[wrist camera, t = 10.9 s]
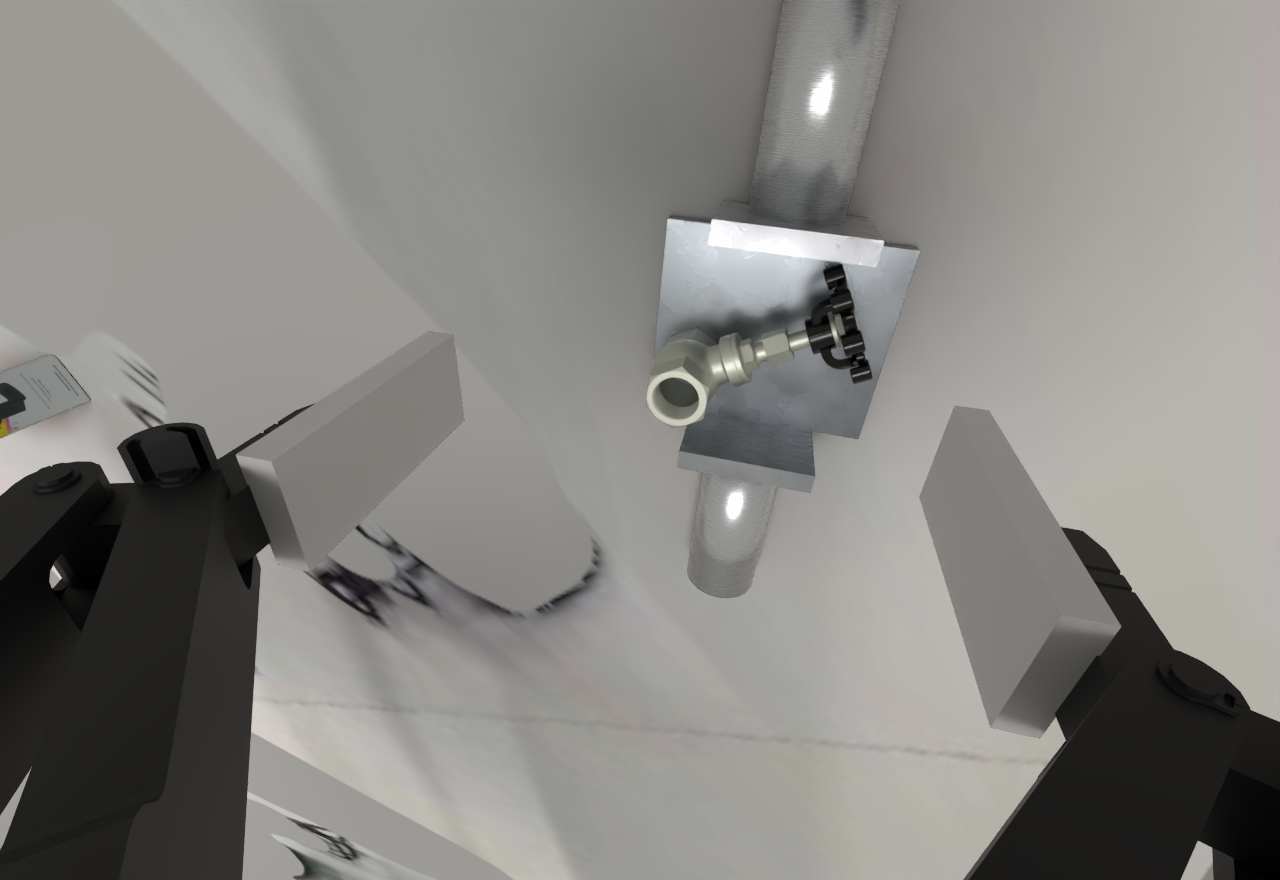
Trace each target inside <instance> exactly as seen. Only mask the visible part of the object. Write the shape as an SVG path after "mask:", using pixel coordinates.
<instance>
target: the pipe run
mask: <svg viewBox="0 0 1280 880" xmlns="http://www.w3.org/2000/svg"><path fill="white" fill-rule="evenodd" d="M899 4H900V0H783V6H782V12H781V18H780V24H779V29H778V35H777V41H776V47H775V53H774V59H773V65H772V71H771V77H770V82H769V88H768V94H767V100H766V106H765V112H764V118H763V124H762V130H761V135H760V141H759V147H758V153H757V159H756V165H755V171H754V177H753V183H752V188H751V194H750V200H749V203H742V202H733V201H725V200H724V201H723V203H722V204H721V206H720V207H719V209H718V210H717V212H716V213H715V215H714V216H713V218H712V221H707V220H699V219H691V218H683V217H676V216H670V217H669V218H668V221H667V231H666V241H665V251H664V260H663V270H662V280H661V290H660V300H659V309H658V319H657V329H656V339H655V348H654V358H653V360H654V359H655V357H656V355H657V354H658V352H659V351H660V350H661V349H662V348H664V347H665V345H666V343H667V341H668V339H669V338H670V337H671V336H674V335H676V334H679V333H682V332H685V331H688V330H691V329H695V328H699V329H700V330H702V331H703V332H704V333H706V334H707V335H708V336H709V337H711V338H712V339H713V340H714V341H715V342H716V343H717V344H719V340H720V338H721V337H724V336H727V335H730V334H733V333H738V334H739V335H740V336H741V338H742V340H746V339H749V338H751V339H752V340H753V342H754V343H757V342H761V341H762V336H763V334H765V333H768V332H771V331H774V330H777V329H781V328H784V327H785V328H786V329H787V331H788V334H791V333H794V332H798V331H801V330H804V329H806V328H805V323H804V320H805V319H808V318H811V312H812V310H813V308H814V307H815V306H816V305H817V304H818V303H820V302H821V301H823V300H826V299H828V298H829V294H832V293H834V289H830V290H828V287H827V283H826V281H825V278H824V274H823V269H826V268H829V267H831V266H834V265H837V264H840V263H841V264H842V265H843V268H844V271H845V275H846V279H847V286H848V288H849V289H850V291H851V295H852V299H853V302H854V306H855V310H854V314H855V315H856V318H857V321H858V325H859V329H860V330H861V332H862V336H863V339H864V343H865V347H866V351H865V352H864V354H865V358H866V359H868V361H869V364H870V368H871V372H872V376H873V379H872V380H868V381H865V382H861V383H857V384H853V381H852V378H851V374H850V369H851V368H848V369H844V370H838V369H834V368H832V367H830V366H828V365H827V364H826V363H825V361H824V360H823V358H822V356H821V353H818V354H813V352H812V349H811V346H810V347H807V348H803V349H800V350H797V351H794V359H793V360H791V361H788V362H784V363H781V364H778V365H774V366H771V365H770V363H769V361H765V362H762V363H760V368H759V370H757V371H754V372H752V381H751V382H750V383H747V384H743V385H740V386H736V387H734V386H733V385H732V384H731V383H726V384H723V385H720V386H719V387H718V390H717V392H716V393H715V395H714V397H713V398H712V399H711V400H710V401H709V402H708V403H707V407H706V411H705V415H704V419H702V420H700V421H697V422H694V423H691V424H688V425H687V428H686V431H685V434H684V437H683V441H682V444H681V447H680V450H679V456H678V464H677V468H682V469H687V470H692V471H697V472H703V477H702V483H701V489H700V495H699V500H698V506H697V512H696V518H695V524H694V530H693V536H692V542H691V548H690V553H689V559H688V565H687V574H688V577H689V579H690V581H691V582H692V583H693V585H694V586H696V587H697V588H698V589H699V590H701V591H702V592H704V593H706V594H708V595H711V596H714V597H719V598H734V597H738V596H740V595H742V594H744V593H746V592H747V591H748V590H749V589H750V587H751V585H752V581H753V578H754V574H755V570H756V566H757V562H758V558H759V554H760V550H761V546H762V542H763V538H764V534H765V530H766V526H767V523H768V519H769V515H770V511H771V507H772V503H773V499H774V495H775V491H776V487H781V488H786V489H791V490H797V491H802V492H807V493H810V492H811V489H812V486H813V482H814V479H815V468H814V455H813V443H812V431H814V432H820V433H826V434H831V435H837V436H843V437H848V438H854V439H859V436H860V433H861V430H862V427H863V423H864V420H865V417H866V414H867V411H868V408H869V405H870V402H871V399H872V396H873V393H874V390H875V387H876V384H877V381H878V378H879V375H880V372H881V369H882V366H883V363H884V360H885V356H886V353H887V350H888V347H889V344H890V341H891V338H892V335H893V332H894V329H895V326H896V323H897V320H898V317H899V314H900V311H901V308H902V305H903V302H904V299H905V296H906V293H907V290H908V286H909V283H910V280H911V277H912V274H913V271H914V268H915V265H916V262H917V259H918V256H919V253H920V250H919V249H918V248H917V247H911V246H903V245H895V244H888V243H884V240H883V238H882V237H881V236H880V234H879V233H878V231H877V230H876V229H875V227H874V226H873V225H872V223H871V222H870V221H869V219H868V218H865V217H857V216H848V215H846V212H847V208H848V204H849V200H850V196H851V192H852V189H853V185H854V181H855V177H856V173H857V169H858V165H859V161H860V157H861V153H862V149H863V145H864V141H865V137H866V134H867V130H868V126H869V122H870V118H871V114H872V110H873V106H874V102H875V98H876V94H877V90H878V86H879V82H880V79H881V75H882V71H883V67H884V63H885V59H886V55H887V51H888V47H889V43H890V39H891V35H892V31H893V27H894V24H895V20H896V16H897V12H898V8H899ZM832 312H833V311H832ZM839 340H840V339H839ZM840 344H841V342H840ZM831 352H832V355H833V357H834V358H836V359H844V358H848V357H846V356H845V353H844V349H843V346H842V344H841V347H838V348H835V349H832V350H831ZM849 357H851V356H849ZM855 367H858V366H855ZM852 368H854V367H852Z"/></svg>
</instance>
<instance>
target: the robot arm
mask: <svg viewBox="0 0 1280 880" xmlns="http://www.w3.org/2000/svg"><path fill="white" fill-rule="evenodd" d="M463 421H464V412H463V405H462V397H461V389H460V381H459V373H458V365H457V358H456V350H455V342H454V335H453V334H446V333H439V332H432V331H428V332H426V333H425V334H423V335H422V336H420V337H418V338H417V339H415V340H414V341H412V342H411V343H409V344H407V345H406V346H404V347H403V348H401V349H400V350H398V351H397V352H395V353H394V354H392V355H390V356H389V357H387V358H386V359H384V360H383V361H381V362H380V363H378V364H376V365H375V366H373V367H372V368H370V369H368V370H367V371H365V372H364V373H362V374H361V375H359V376H358V377H356V378H354V379H353V380H351V381H350V382H348V383H347V384H345V385H343V386H342V387H340V388H339V389H337V390H336V391H334V392H333V393H331V394H329V395H328V396H326V397H325V398H323V399H322V400H320V401H319V402H317V403H315V404H312V405H309V406H307V407H304V408H301V409H299V410H296V411H294V412H293V413H291V414H290V415H288V416H286V417H285V418H283V419H282V420H280V421H279V422H278V424H274V425H272V426H271V427H269V428H267V429H266V430H264V433H259V434H258V435H256V436H255V437H253V438H251V439H250V440H248V441H247V442H245V443H244V444H242V445H240V446H239V447H237V448H236V449H234V450H232V451H231V452H229V453H228V454H226V455H224V456H223V457H221V458H220V459H218V460H217V458H216V456H215V454H214V451H213V449H212V446H211V444H210V441H209V439H208V436H207V434H206V431H205V429H204V427H202V426H200V425H198V424H193V423H171V424H165V425H160V426H156V427H152V428H149V429H146V430H143V431H141V432H138V433H136V434H134V435H132V436H130V437H129V438H127V439H125V440H124V441H123V442H122V443H121V444H120V445H119V446H118V447H117V449H118V451H119V453H120V455H121V457H122V459H123V461H124V463H125V465H126V467H127V469H128V471H129V473H130V475H131V476H132V478H133V480H134V482H135V483H114V484H110V483H109V481H108V479H107V477H106V475H105V474H104V472H103V470H102V468H101V466H100V465H99V464H96V463H93V462H71V463H59V464H55V465H53V466H52V467H51V466H48V467H45V468H42V469H40V470H39V471H37V472H35V473H33V474H30V475H28V476H26V477H24V478H23V479H21V480H20V481H18V482H17V483H15V484H14V485H13V486H11V487H10V488H9V489H8V490H7V491H6V492H5V493H3V494H2V495H1V496H0V815H1V813H2V812H3V810H4V809H5V807H6V806H7V804H8V803H9V801H10V800H11V798H12V796H13V795H14V793H15V792H16V790H17V789H18V787H19V786H20V784H21V782H22V781H23V779H24V778H25V776H26V775H27V773H28V772H29V770H30V769H31V771H30V774H29V777H28V779H27V782H26V785H25V787H24V790H23V793H22V796H21V799H20V801H19V804H18V807H17V809H16V812H15V815H14V817H13V820H12V823H11V826H10V828H9V831H8V834H7V836H6V839H5V842H4V844H3V846H2V848H1V850H0V880H242V870H243V854H244V837H245V821H246V803H247V786H248V770H249V754H250V737H251V721H252V704H253V688H254V671H255V654H256V638H257V621H258V604H259V588H260V571H261V568H260V564H259V561H258V559H257V556H256V554H257V553H258V552H259V551H261V550H262V549H263V548H264V547H265V546H266V545H268V544H269V543H270V546H271V548H272V551H273V553H274V556H275V559H276V561H277V564H278V565H282V566H286V567H290V568H295V569H299V570H304V571H308V572H310V571H311V570H312V569H313V568H314V567H315V566H316V565H317V564H318V563H319V562H320V561H321V560H323V559H324V558H325V557H326V556H327V555H328V553H330V552H331V551H332V550H333V549H334V548H335V547H336V546H337V545H338V544H339V543H340V542H341V541H342V540H343V539H344V538H345V537H346V536H347V535H348V534H349V533H350V532H351V531H352V530H353V529H354V528H355V527H356V526H357V525H358V524H359V523H360V522H361V521H362V520H363V519H364V518H365V517H366V516H367V515H368V514H369V513H370V512H371V511H372V510H374V509H375V508H376V506H378V505H379V503H381V502H382V501H383V500H384V499H385V498H386V497H387V496H388V495H389V494H390V493H391V492H392V491H393V490H394V489H395V488H396V487H397V486H398V485H399V484H400V483H401V482H402V481H403V480H404V479H405V478H406V477H407V476H408V475H409V474H410V473H411V472H412V471H413V470H414V469H415V468H416V467H417V466H418V465H419V464H420V463H421V462H422V461H423V460H425V458H427V457H428V456H429V455H430V454H431V453H432V452H433V451H434V450H435V449H436V448H437V447H438V446H439V445H440V444H441V443H442V442H443V441H444V440H445V439H446V438H447V437H448V436H449V435H450V434H451V433H452V432H453V431H454V430H455V429H456V428H457V427H458V426H459V425H460V424H461V423H462V422H463ZM920 501H921V504H922V507H923V510H924V514H925V517H926V520H927V523H928V526H929V530H930V533H931V536H932V539H933V543H934V546H935V549H936V552H937V556H938V559H939V562H940V565H941V569H942V572H943V575H944V578H945V582H946V585H947V588H948V591H949V595H950V598H951V601H952V604H953V608H954V611H955V614H956V617H957V621H958V624H959V627H960V630H961V634H962V637H963V640H964V643H965V647H966V650H967V653H968V656H969V659H970V663H971V666H972V669H973V672H974V676H975V679H976V682H977V685H978V689H979V692H980V695H981V698H982V702H983V705H984V708H985V711H986V715H987V718H988V721H989V724H990V727H991V728H995V729H1000V730H1004V731H1008V732H1013V733H1017V734H1021V735H1026V736H1030V737H1035V738H1039V739H1040V738H1041V737H1042V735H1043V734H1044V732H1045V731H1046V730H1047V728H1048V727H1049V726H1050V724H1051V723H1052V721H1053V720H1054V719H1055V717H1056V718H1057V720H1058V723H1059V725H1060V727H1061V730H1062V732H1063V734H1064V737H1065V739H1066V741H1065V742H1064V744H1063V745H1062V746H1061V748H1060V749H1059V750H1058V752H1057V753H1056V754H1055V755H1054V757H1053V758H1052V759H1051V761H1050V762H1049V763H1048V765H1047V766H1046V767H1045V768H1044V770H1043V771H1042V772H1041V774H1040V775H1039V776H1038V779H1037V780H1036V782H1035V783H1034V784H1033V786H1032V787H1031V788H1030V790H1029V791H1028V792H1027V794H1026V795H1025V797H1024V798H1023V799H1022V801H1021V802H1020V803H1019V805H1018V806H1017V807H1016V809H1015V810H1014V811H1013V813H1012V814H1011V816H1010V817H1009V818H1008V820H1007V821H1006V822H1005V824H1004V825H1003V826H1002V828H1001V829H1000V831H999V832H998V833H997V835H996V836H995V837H994V839H993V840H992V841H991V843H990V844H989V846H988V847H987V848H986V850H985V851H984V852H983V854H982V855H981V856H980V858H979V859H978V861H977V862H976V863H975V865H974V866H973V867H972V869H971V870H970V871H969V873H968V874H967V876H966V877H965V878H964V880H1180V879H1181V877H1182V875H1183V873H1184V870H1185V868H1186V866H1187V864H1188V861H1189V859H1190V857H1191V855H1192V852H1193V850H1194V848H1195V846H1196V843H1197V841H1200V842H1202V843H1204V844H1206V845H1208V846H1210V847H1212V851H1213V874H1214V880H1280V722H1278V721H1276V720H1273V719H1271V718H1268V717H1266V716H1264V715H1261V714H1259V713H1256V712H1254V711H1252V710H1250V707H1249V705H1248V704H1247V702H1246V700H1245V699H1244V697H1243V695H1242V694H1241V692H1240V691H1239V690H1238V689H1237V688H1236V687H1235V686H1234V685H1233V684H1232V683H1231V682H1229V681H1228V680H1227V679H1226V678H1225V677H1224V676H1223V675H1222V674H1220V673H1219V672H1217V671H1216V670H1214V669H1213V668H1211V667H1210V666H1208V665H1207V664H1205V663H1204V662H1202V661H1200V660H1198V659H1196V658H1194V657H1191V656H1189V655H1187V654H1185V653H1183V652H1181V651H1177V650H1174V649H1173V648H1172V646H1171V645H1170V643H1169V642H1168V640H1167V639H1166V637H1165V636H1164V634H1163V633H1162V631H1161V630H1160V629H1159V627H1158V626H1157V624H1156V623H1155V621H1154V620H1153V618H1152V617H1151V615H1150V614H1149V612H1148V611H1147V609H1146V608H1145V607H1144V605H1143V604H1142V602H1141V601H1140V599H1139V598H1138V596H1137V595H1136V593H1134V592H1132V588H1131V586H1130V585H1129V583H1128V582H1127V580H1126V579H1125V577H1124V576H1123V575H1120V570H1119V568H1118V567H1117V566H1116V564H1115V563H1114V561H1113V560H1112V558H1111V557H1110V555H1109V554H1108V552H1107V551H1106V550H1105V549H1104V548H1103V547H1101V546H1100V545H1099V544H1098V543H1096V542H1095V541H1094V540H1093V539H1092V538H1090V537H1089V536H1088V535H1087V534H1086V533H1084V532H1083V531H1080V530H1074V529H1069V528H1063V527H1060V526H1059V524H1058V522H1057V521H1056V519H1055V517H1054V516H1053V514H1052V513H1051V511H1050V509H1049V508H1048V506H1047V504H1046V503H1045V501H1044V499H1043V498H1042V496H1041V495H1040V493H1039V491H1038V490H1037V488H1036V486H1035V485H1034V483H1033V482H1032V480H1031V478H1030V477H1029V475H1028V473H1027V472H1026V470H1025V469H1024V467H1023V465H1022V464H1021V462H1020V460H1019V459H1018V457H1017V455H1016V454H1015V452H1014V451H1013V449H1012V447H1011V446H1010V444H1009V442H1008V441H1007V439H1006V438H1005V436H1004V434H1003V433H1002V431H1001V429H1000V428H999V426H998V425H997V423H996V421H995V420H994V418H993V416H992V415H991V413H990V411H989V410H982V409H975V408H968V407H961V406H954V409H953V411H952V414H951V416H950V419H949V422H948V424H947V427H946V429H945V432H944V435H943V437H942V440H941V442H940V445H939V448H938V450H937V453H936V455H935V458H934V461H933V463H932V466H931V468H930V471H929V474H928V476H927V479H926V481H925V484H924V486H923V489H922V492H921V494H920ZM53 565H54V567H55V568H56V570H57V571H58V573H59V574H60V576H61V577H62V579H61V580H60V581H59V582H58V584H57V585H56V586H55V587H54V588H51V585H50V583H49V578H50V570H51V568H52V566H53ZM31 767H32V768H31Z"/></svg>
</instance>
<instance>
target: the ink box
mask: <svg viewBox="0 0 1280 880" xmlns="http://www.w3.org/2000/svg"><path fill="white" fill-rule="evenodd" d="M88 401H90V398H89V397H88V396H87V395H86V393H85V392H84V391H83V390H82V388H81V387H80V386H79V385H78V383H77V382H76V381H75V380H74V378H73V377H72V376H71V375H70V373H69V372H68V371H67V370H66V369H65V367H64V366H63V365H62V364H61V363H60V361H59V360H58V359H57V358H56V357H55V356H54V355H48V356H45V357H42V358H39V359H36V360H33V361H30V362H27V363H24V364H21V365H18V366H15V367H12V368H9V369H6V370H3V371H0V438H3V437H5V436H8V435H10V434H12V433H15V432H17V431H19V430H22V429H24V428H26V427H29V426H31V425H34V424H36V423H38V422H41V421H43V420H45V419H48V418H50V417H53V416H55V415H57V414H60V413H62V412H64V411H67V410H69V409H71V408H74V407H76V406H78V405H81V404H83V403H86V402H88Z"/></svg>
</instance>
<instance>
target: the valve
mask: <svg viewBox="0 0 1280 880" xmlns="http://www.w3.org/2000/svg"><path fill="white" fill-rule="evenodd" d="M823 274H824V278H825V281H826V283H827V287H828V290H830V289H834V293H832V294H829V298H828V299H826V300H823V301H821V302H820V303H818V304H817V305H816V306H815V307H814V308H813V310H812V312H811V318H808V319H805V320H804V323H805V328H806V329H804V330H801V331H798V332H794V333H791V334H788V331H787V329H786V328H785V327H784V328H781V329H777V330H774V331H771V332H768V333H765V334H763V336H762V341H761V342H757V343H754V342H753V340H752V339H751V338H749V339H746V340H742V338H741V336H740V335H739V334H738V333H733V334H730V335H727V336H724V337H721V338H720V340H719V344H717V343H716V342H715V341H714V340H713V339H712V338H711V337H709V336H708V335H707V334H706V333H704V332H703V331H702V330H700V329H699V328H695V329H691V330H688V331H685V332H682V333H679V334H676V335H674V336H671V337H670V338H669V339H668V341H667V343H666V345H665V347H664V348H662V349H661V350H660V351H659V352H658V354H657V355H656V357H655V359H654V360H653V363H652V366H651V370H650V378H649V384H648V391H647V398H646V408H647V409H648V410H649V411H650V412H651V413H652V414H653V415H655V416H656V417H657V418H658V419H659V420H661V421H662V422H664V423H665V424H667V425H668V426H670V427H672V428H673V427H679V426H684V425H688V424H691V423H694V422H697V421H700V420H702V419H704V415H705V411H706V407H707V403H708V402H709V401H710V400H711V399H712V398H713V397H714V395H715V393H716V392H717V390H718V387H719V386H720V385H723V384H726V383H731V384H732V385H733V386H734V387H736V386H740V385H743V384H747V383H750V382H751V381H752V372H754V371H757V370H759V368H760V363H762V362H765V361H769V363H770V365H771V366H774V365H778V364H781V363H784V362H788V361H791V360H793V359H794V351H797V350H800V349H803V348H807V347H810V346H811V349H812V352H813V354H818V353H821V356H822V358H823V360H824V361H825V363H826V364H827V365H828V366H830V367H832V368H834V369H838V370H844V369H848V368H851V369H850V374H851V378H852V381H853V384H857V383H861V382H865V381H868V380H872V379H873V376H872V372H871V368H870V364H869V361H868V359H866V358H865V354H864V352H865V351H866V347H865V343H864V339H863V336H862V332H861V330H860V329H859V325H858V321H857V318H856V315H855V314H854V310H855V306H854V302H853V299H852V295H851V291H850V289H849V288H848V286H847V279H846V275H845V271H844V268H843V265H842V264H841V263H840V264H837V265H834V266H831V267H829V268H826V269H823ZM832 311H833V312H832ZM839 339H840V340H839ZM840 342H841V344H842V346H843V349H844V353H845V356H846V357H848V358H844V359H836V358H834V357H833V355H832V352H831V350H832V349H835V348H838V347H841V344H840ZM849 356H851V357H849ZM855 366H858V367H855ZM852 367H854V368H852Z"/></svg>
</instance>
